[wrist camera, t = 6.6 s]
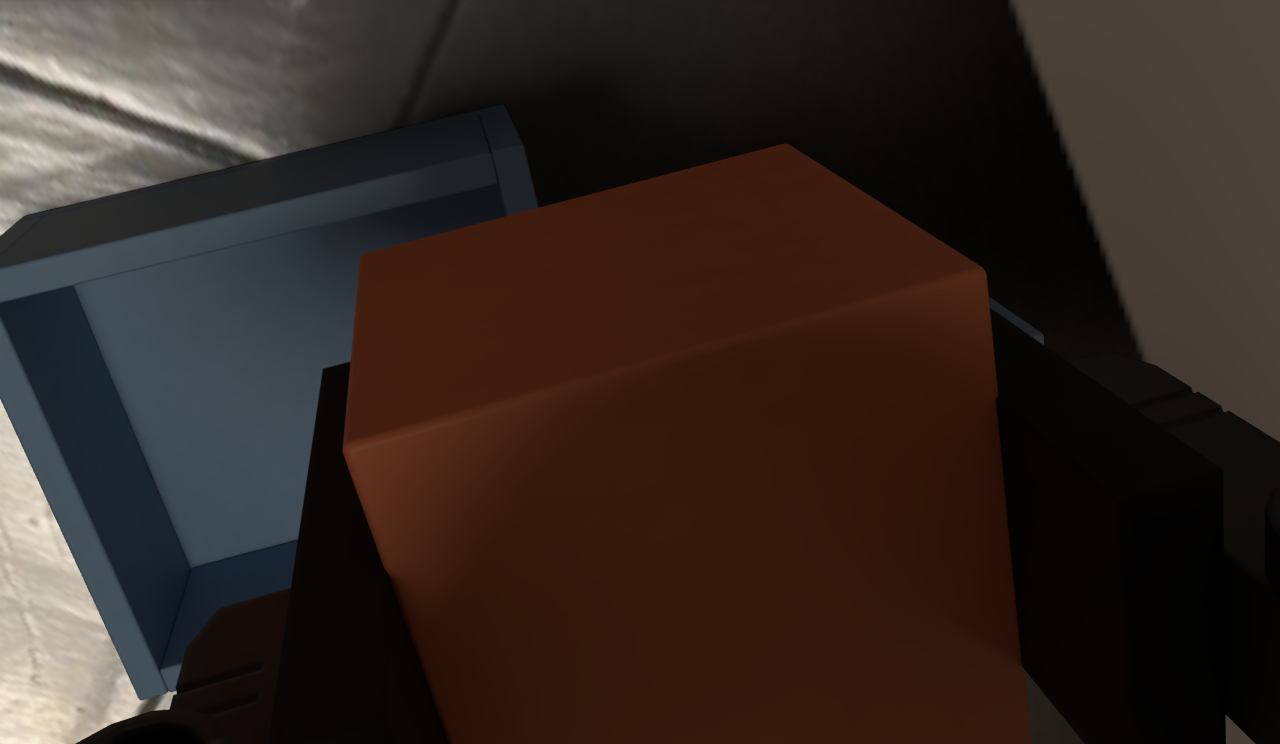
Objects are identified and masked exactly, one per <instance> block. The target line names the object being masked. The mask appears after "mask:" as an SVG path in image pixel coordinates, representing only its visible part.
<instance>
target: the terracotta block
mask: <svg viewBox="0 0 1280 744" xmlns="http://www.w3.org/2000/svg"><path fill="white" fill-rule="evenodd" d="M996 397H998V389H997V378H996V368H995V358H994V347H993V337H992V326H991V316H990V306H989V295H988V285H987V275H986V272H985V270H984V269H983V268H982V267H981V266H979V265H978V264H976V263H975V262H973V261H971V260H970V259H968V258H967V257H965V256H964V255H962V254H960V253H959V252H957V251H956V250H954V249H953V248H951V247H949V246H948V245H946V244H945V243H943V242H942V241H940V240H938V239H937V238H935V237H934V236H932V235H931V234H929V233H927V232H926V231H924V230H923V229H921V228H920V227H918V226H916V225H915V224H913V223H912V222H910V221H909V220H907V219H905V218H904V217H902V216H901V215H899V214H898V213H896V212H894V211H893V210H891V209H890V208H888V207H886V206H885V205H883V204H882V203H880V202H879V201H877V200H875V199H874V198H872V197H871V196H869V195H868V194H866V193H864V192H863V191H861V190H860V189H858V188H857V187H855V186H853V185H852V184H850V183H849V182H847V181H846V180H844V179H842V178H841V177H839V176H838V175H836V174H835V173H833V172H831V171H830V170H828V169H827V168H825V167H824V166H822V165H820V164H819V163H817V162H816V161H814V160H813V159H811V158H809V157H808V156H806V155H805V154H803V153H802V152H800V151H798V150H797V149H795V148H794V147H792V146H791V145H789V144H781V145H777V146H773V147H769V148H766V149H762V150H758V151H754V152H750V153H746V154H743V155H739V156H735V157H731V158H727V159H723V160H720V161H716V162H712V163H708V164H704V165H701V166H697V167H693V168H689V169H685V170H681V171H678V172H674V173H670V174H666V175H662V176H658V177H655V178H651V179H647V180H643V181H639V182H636V183H632V184H628V185H624V186H620V187H616V188H613V189H609V190H605V191H601V192H597V193H593V194H590V195H586V196H582V197H578V198H574V199H571V200H567V201H563V202H559V203H555V204H551V205H548V206H544V207H540V208H536V209H532V210H528V211H525V212H521V213H517V214H513V215H509V216H506V217H502V218H498V219H494V220H490V221H486V222H483V223H479V224H475V225H471V226H467V227H463V228H460V229H456V230H452V231H448V232H444V233H440V234H437V235H433V236H429V237H425V238H421V239H418V240H414V241H410V242H406V243H402V244H398V245H395V246H391V247H387V248H383V249H379V250H375V251H372V252H368V253H364V254H363V255H361V256H360V262H359V273H358V284H357V295H356V306H355V318H354V329H353V340H352V351H351V362H350V373H349V384H348V396H347V407H346V418H345V429H344V440H343V451H342V452H343V454H344V457H345V460H346V463H347V466H348V468H349V471H350V474H351V477H352V480H353V482H354V485H355V488H356V491H357V493H358V496H359V499H360V502H361V505H362V507H363V510H364V513H365V516H366V519H367V521H368V524H369V527H370V530H371V533H372V535H373V538H374V541H375V544H376V547H377V549H378V552H379V555H380V558H381V560H382V563H383V566H384V569H385V570H386V571H387V573H388V576H389V579H390V581H391V584H392V587H393V590H394V593H395V595H396V598H397V601H398V604H399V607H400V609H401V612H402V615H403V618H404V621H405V623H406V626H407V629H408V632H409V634H410V637H411V640H412V643H413V646H414V648H415V651H416V654H417V657H418V660H419V662H420V665H421V668H422V671H423V674H424V676H425V679H426V682H427V685H428V688H429V690H430V693H431V696H432V699H433V702H434V704H435V707H436V710H437V713H438V716H439V718H440V721H441V724H442V727H443V730H444V732H445V735H446V738H447V741H448V744H1032V741H1031V731H1030V720H1029V710H1028V700H1027V689H1026V679H1025V669H1024V668H1023V667H1022V661H1021V650H1020V640H1019V630H1018V620H1017V609H1016V599H1015V589H1014V579H1013V568H1012V558H1011V548H1010V537H1009V527H1008V517H1007V507H1006V496H1005V486H1004V476H1003V465H1002V455H1001V445H1000V435H999V424H998V414H997V404H996Z"/></svg>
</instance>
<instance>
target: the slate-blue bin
mask: <svg viewBox="0 0 1280 744" xmlns="http://www.w3.org/2000/svg"><path fill="white" fill-rule="evenodd" d="M536 208H539V207H538V203H537V199H536V195H535V191H534V186H533V182H532V178H531V174H530V170H529V165H528V161H527V157H526V153H525V149H524V146H523V144H522V141H521V139H520V137H519V135H518V133H517V131H516V129H515V127H514V125H513V123H512V121H511V118H510V116H509V114H508V112H507V110H506V108H505V106H504V105H497V106H493V107H489V108H485V109H480V110H476V111H472V112H467V113H463V114H459V115H455V116H450V117H446V118H442V119H438V120H433V121H429V122H425V123H420V124H416V125H412V126H408V127H403V128H399V129H395V130H391V131H386V132H382V133H378V134H373V135H369V136H365V137H361V138H356V139H352V140H348V141H344V142H339V143H335V144H331V145H326V146H322V147H318V148H314V149H309V150H305V151H301V152H297V153H292V154H288V155H284V156H279V157H275V158H271V159H267V160H262V161H258V162H254V163H250V164H245V165H241V166H237V167H233V168H228V169H224V170H220V171H215V172H211V173H207V174H203V175H198V176H194V177H190V178H186V179H181V180H177V181H173V182H168V183H164V184H160V185H156V186H151V187H147V188H143V189H139V190H134V191H130V192H126V193H121V194H117V195H113V196H109V197H104V198H100V199H96V200H92V201H87V202H83V203H79V204H74V205H70V206H66V207H62V208H57V209H53V210H49V211H45V212H40V213H36V214H32V215H27V216H24V217H22V218H21V219H20V220H19V221H17V222H16V223H15V224H14V225H13V226H12V227H11V228H9V229H8V230H7V231H6V232H5V233H3V234H2V235H1V236H0V399H1V401H2V404H3V406H4V408H5V410H6V412H7V414H8V417H9V419H10V421H11V423H12V425H13V427H14V430H15V432H16V434H17V436H18V438H19V440H20V442H21V445H22V447H23V449H24V451H25V453H26V455H27V458H28V460H29V462H30V464H31V466H32V468H33V471H34V473H35V475H36V477H37V479H38V481H39V484H40V486H41V488H42V490H43V492H44V494H45V497H46V499H47V501H48V503H49V505H50V507H51V510H52V512H53V514H54V516H55V518H56V520H57V523H58V525H59V527H60V529H61V531H62V533H63V536H64V538H65V540H66V542H67V544H68V546H69V549H70V551H71V553H72V555H73V557H74V559H75V562H76V564H77V566H78V568H79V570H80V572H81V575H82V577H83V579H84V581H85V583H86V585H87V588H88V590H89V592H90V594H91V596H92V598H93V600H94V603H95V605H96V607H97V609H98V611H99V613H100V616H101V618H102V620H103V622H104V624H105V626H106V629H107V631H108V633H109V635H110V637H111V639H112V642H113V644H114V646H115V648H116V650H117V652H118V655H119V657H120V659H121V661H122V663H123V665H124V668H125V670H126V672H127V674H128V676H129V678H130V681H131V683H132V685H133V687H134V689H135V691H136V694H137V696H138V698H139V699H140V700H144V699H148V698H152V697H155V696H159V695H163V694H166V693H167V692H168V690H169V691H170V692H173V691H177V690H176V684H177V680H178V677H179V673H180V669H181V666H182V662H183V658H184V655H185V651H186V648H187V647H188V646H189V644H190V643H191V642H192V641H193V639H194V638H195V637H196V636H197V634H198V633H199V632H200V631H201V629H202V628H203V627H204V626H205V624H206V623H207V622H208V621H209V619H210V618H211V617H212V616H213V614H214V613H215V612H216V611H217V609H218V608H221V607H225V606H228V605H232V604H235V603H239V602H242V601H246V600H249V599H253V598H256V597H260V596H263V595H267V594H270V593H274V592H277V591H281V590H284V589H288V588H291V583H292V576H293V569H294V563H295V556H296V549H297V542H298V535H299V528H300V522H301V515H302V508H303V501H304V494H305V487H306V481H307V474H308V467H309V460H310V453H311V446H312V440H313V433H314V426H315V419H316V412H317V405H318V399H319V392H320V385H321V378H322V371H323V369H324V368H327V367H331V366H335V365H339V364H342V363H346V362H350V361H351V351H352V340H353V329H354V318H355V306H356V295H357V284H358V273H359V262H360V256H361V255H363V254H364V253H368V252H372V251H375V250H379V249H383V248H387V247H391V246H395V245H398V244H402V243H406V242H410V241H414V240H418V239H421V238H425V237H429V236H433V235H437V234H440V233H444V232H448V231H452V230H456V229H460V228H463V227H467V226H471V225H475V224H479V223H483V222H486V221H490V220H494V219H498V218H502V217H506V216H509V215H513V214H517V213H521V212H525V211H528V210H532V209H536Z"/></svg>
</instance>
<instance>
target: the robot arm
mask: <svg viewBox="0 0 1280 744" xmlns="http://www.w3.org/2000/svg"><path fill="white" fill-rule="evenodd" d="M990 316H991V326H992V337H993V347H994V358H995V368H996V378H997V389H998V397H996V404H997V414H998V424H999V435H1000V445H1001V455H1002V465H1003V476H1004V486H1005V496H1006V507H1007V517H1008V527H1009V537H1010V548H1011V558H1012V568H1013V579H1014V589H1015V599H1016V609H1017V620H1018V630H1019V640H1020V650H1021V661H1022V667H1023V668H1024V669H1025V671H1026V672H1027V673H1028V674H1029V676H1030V677H1031V678H1032V679H1033V680H1034V682H1035V683H1036V684H1037V685H1038V687H1039V688H1040V689H1041V690H1042V692H1043V693H1044V694H1045V695H1046V696H1047V698H1048V699H1049V700H1050V701H1051V703H1052V704H1053V705H1054V706H1055V708H1056V709H1057V710H1058V711H1059V712H1060V714H1061V715H1062V716H1063V717H1064V719H1065V720H1066V721H1067V722H1068V724H1069V725H1070V726H1071V727H1072V729H1073V730H1074V731H1075V732H1076V733H1077V735H1078V736H1079V737H1080V738H1081V740H1082V741H1083V742H1084V743H1085V744H1226V732H1225V731H1226V730H1225V729H1226V727H1225V714H1226V715H1227V716H1228V717H1229V718H1230V719H1231V720H1232V721H1233V722H1234V723H1235V724H1236V725H1237V726H1238V727H1239V728H1240V729H1241V730H1242V731H1243V732H1244V733H1245V734H1246V735H1247V736H1248V737H1249V738H1250V739H1251V740H1252V741H1253V742H1254V743H1256V744H1280V442H1278V441H1277V440H1275V439H1274V438H1272V437H1270V436H1269V435H1267V434H1265V433H1264V432H1262V431H1261V430H1259V429H1257V428H1256V427H1254V426H1252V425H1251V424H1249V423H1248V422H1246V421H1245V420H1243V419H1241V418H1240V417H1238V416H1236V415H1235V414H1233V413H1232V412H1230V411H1227V412H1223V410H1222V407H1221V406H1220V405H1219V404H1217V403H1216V402H1214V401H1212V400H1211V399H1209V398H1207V397H1206V396H1204V395H1202V394H1200V393H1199V392H1196V393H1193V392H1192V390H1191V387H1190V386H1188V385H1187V384H1185V383H1183V382H1182V381H1180V380H1178V379H1177V378H1175V377H1174V376H1172V375H1170V374H1169V373H1167V372H1166V371H1164V370H1162V369H1161V368H1159V367H1158V366H1156V365H1153V364H1150V363H1146V362H1142V361H1139V360H1135V359H1131V358H1128V357H1124V356H1120V355H1117V354H1113V353H1109V352H1105V351H1102V352H1099V353H1095V354H1092V355H1088V356H1085V357H1081V358H1078V359H1074V360H1071V361H1066V360H1065V359H1063V358H1062V357H1060V356H1059V355H1057V354H1056V353H1055V352H1053V351H1052V350H1050V349H1049V348H1047V347H1046V346H1044V345H1043V344H1042V343H1040V342H1039V341H1037V340H1036V339H1034V338H1033V337H1032V336H1030V335H1029V334H1027V333H1026V332H1024V331H1023V330H1021V329H1020V328H1019V327H1017V326H1016V325H1014V324H1013V323H1011V322H1010V321H1009V320H1007V319H1006V318H1004V317H1003V316H1001V315H1000V314H999V313H997V312H996V311H994V310H993V309H991V308H990ZM350 362H351V361H350ZM350 362H346V363H342V364H339V365H335V366H331V367H327V368H324V369H323V371H322V378H321V385H320V392H319V399H318V405H317V412H316V419H315V426H314V433H313V440H312V446H311V453H310V460H309V467H308V474H307V481H306V487H305V494H304V501H303V508H302V515H301V522H300V528H299V535H298V542H297V549H296V556H295V563H294V569H293V576H292V583H291V588H288V589H284V590H281V591H277V592H274V593H270V594H267V595H263V596H260V597H256V598H253V599H249V600H246V601H242V602H239V603H235V604H232V605H228V606H225V607H221V608H218V609H217V611H216V612H215V613H214V614H213V616H212V617H211V618H210V619H209V621H208V622H207V623H206V624H205V626H204V627H203V628H202V629H201V631H200V632H199V633H198V634H197V636H196V637H195V638H194V639H193V641H192V642H191V643H190V644H189V646H188V647H187V648H186V651H185V655H184V658H183V662H182V666H181V669H180V673H179V677H178V680H177V684H176V690H177V694H176V695H173V699H172V702H171V706H170V710H158V711H150V712H147V713H144V714H141V715H138V716H135V717H132V718H129V719H126V720H123V721H120V722H117V723H113V724H111V725H109V726H107V727H105V728H103V729H102V730H100V731H98V732H96V733H94V734H92V735H91V736H89V737H87V738H85V739H83V740H81V741H80V742H78V743H76V744H448V741H447V738H446V735H445V732H444V730H443V727H442V724H441V721H440V718H439V716H438V713H437V710H436V707H435V704H434V702H433V699H432V696H431V693H430V690H429V688H428V685H427V682H426V679H425V676H424V674H423V671H422V668H421V665H420V662H419V660H418V657H417V654H416V651H415V648H414V646H413V643H412V640H411V637H410V634H409V632H408V629H407V626H406V623H405V621H404V618H403V615H402V612H401V609H400V607H399V604H398V601H397V598H396V595H395V593H394V590H393V587H392V584H391V581H390V579H389V576H388V573H387V571H386V570H385V569H384V566H383V563H382V560H381V558H380V555H379V552H378V549H377V547H376V544H375V541H374V538H373V535H372V533H371V530H370V527H369V524H368V521H367V519H366V516H365V513H364V510H363V507H362V505H361V502H360V499H359V496H358V493H357V491H356V488H355V485H354V482H353V480H352V477H351V474H350V471H349V468H348V466H347V463H346V460H345V457H344V454H343V452H342V451H343V440H344V429H345V418H346V407H347V396H348V384H349V373H350Z"/></svg>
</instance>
